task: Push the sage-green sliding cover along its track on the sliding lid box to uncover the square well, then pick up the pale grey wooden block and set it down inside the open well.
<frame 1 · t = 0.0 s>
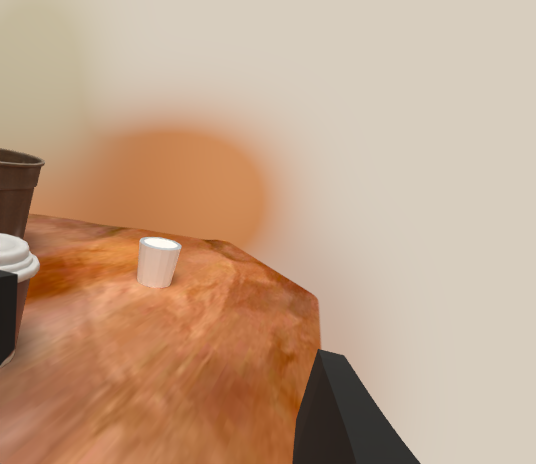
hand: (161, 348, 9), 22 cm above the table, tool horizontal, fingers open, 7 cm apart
white round tub: (153, 282, 68), on the table
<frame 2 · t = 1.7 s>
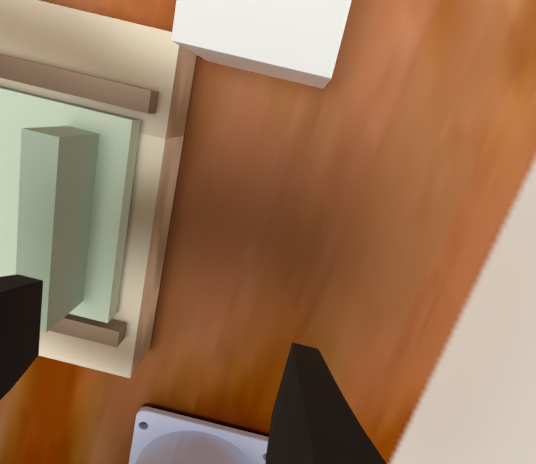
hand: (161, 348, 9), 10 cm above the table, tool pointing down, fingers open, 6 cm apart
grey block: (279, 10, 16), on the table
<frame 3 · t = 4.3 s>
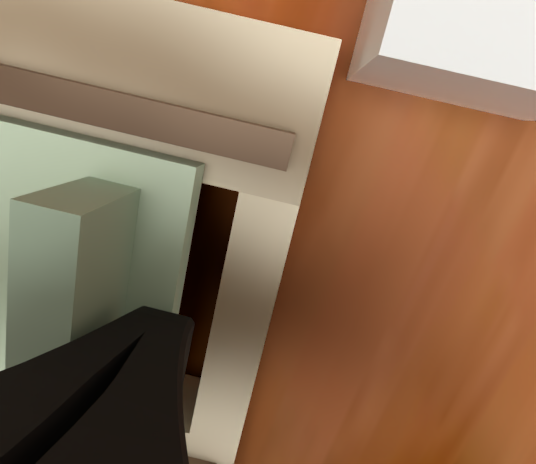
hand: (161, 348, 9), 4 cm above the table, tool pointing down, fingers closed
grey block: (465, 1, 10), on the table
sliding lid box: (9, 233, 13), on the table
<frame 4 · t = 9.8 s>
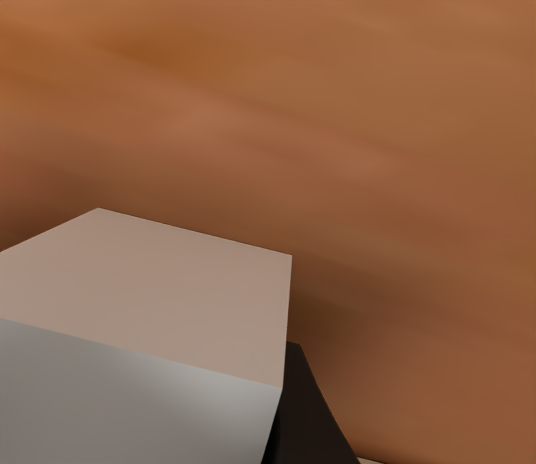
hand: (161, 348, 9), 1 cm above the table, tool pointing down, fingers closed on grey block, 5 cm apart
grey block: (179, 318, 11), on the table, touching gripper
when the fingers open (3 cm above the table, at t = 14.2 s): grey block drops 1 cm, resting in sliding lid box.
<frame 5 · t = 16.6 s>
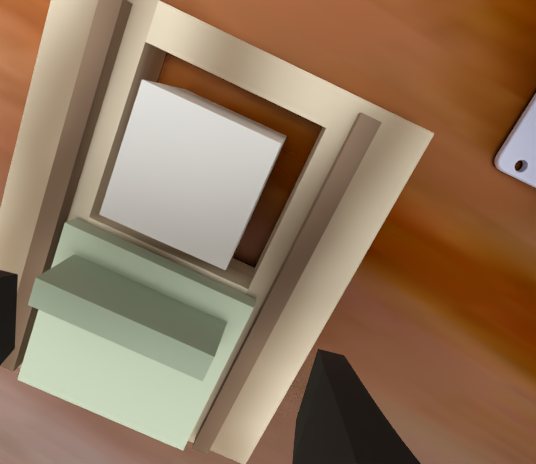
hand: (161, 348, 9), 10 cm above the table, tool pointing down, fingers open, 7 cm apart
grey block: (216, 163, 19), resting in sliding lid box
cover: (120, 357, 17), point 4 cm above the table, slide at 8.2 cm
sliding lid box: (185, 236, 20), on the table
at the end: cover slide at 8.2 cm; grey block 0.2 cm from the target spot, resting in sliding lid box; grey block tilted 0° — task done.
